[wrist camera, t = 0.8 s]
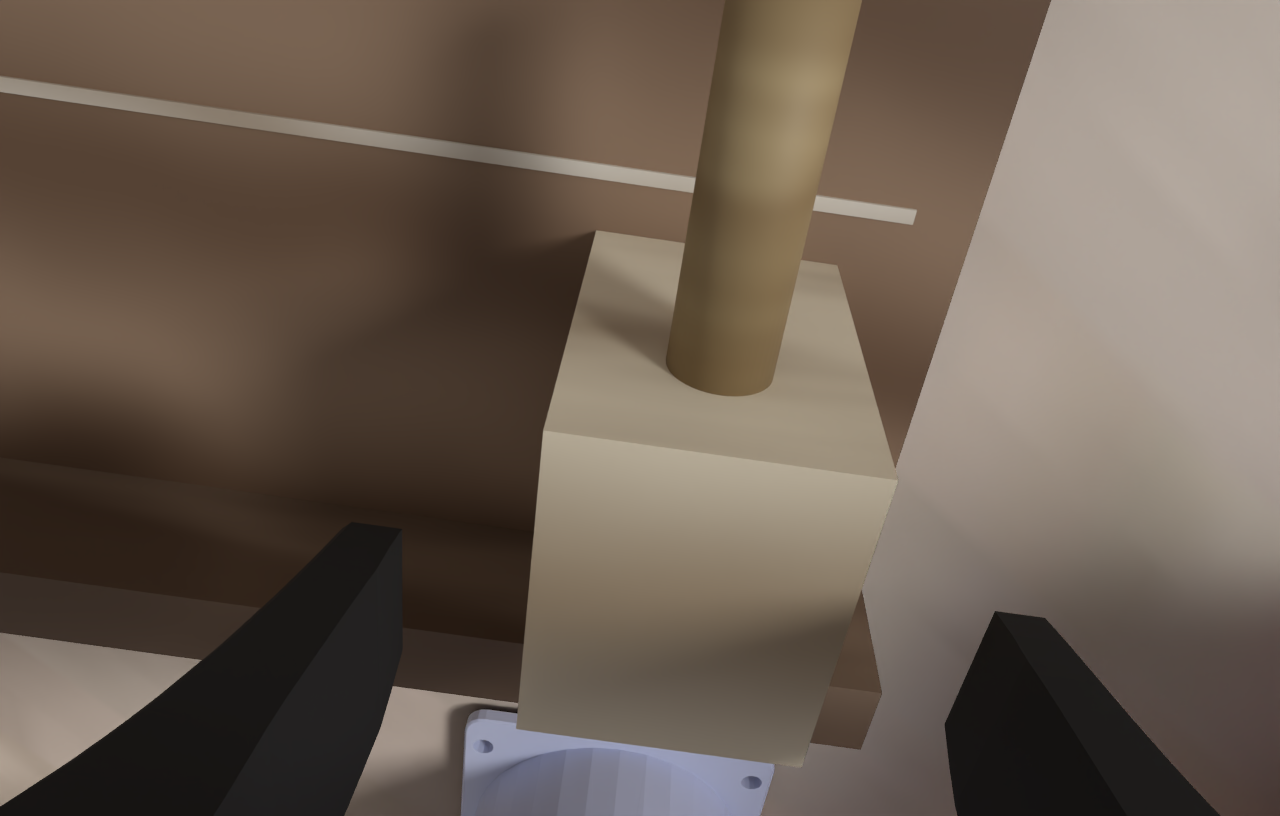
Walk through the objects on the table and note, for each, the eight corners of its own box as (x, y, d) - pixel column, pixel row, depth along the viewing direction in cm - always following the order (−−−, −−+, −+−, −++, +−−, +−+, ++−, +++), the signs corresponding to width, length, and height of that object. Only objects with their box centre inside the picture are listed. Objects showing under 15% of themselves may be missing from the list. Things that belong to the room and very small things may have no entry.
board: (831, 567, 22) (860, 749, 18) (-237, 418, 21) (-470, 568, 17) (1048, -138, 14) (1191, -115, 10) (-578, -387, 14) (-1135, -472, 10)
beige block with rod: (775, 504, 19) (801, 768, 13) (568, 475, 18) (516, 728, 13) (924, -70, 13) (1059, 6, 8) (634, -113, 13) (588, -64, 8)
